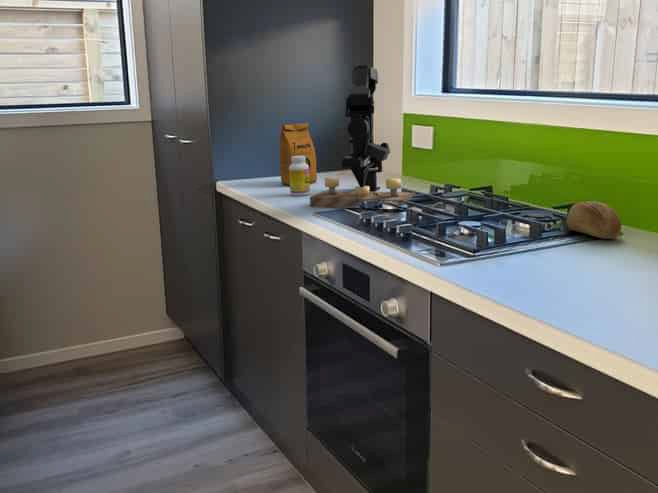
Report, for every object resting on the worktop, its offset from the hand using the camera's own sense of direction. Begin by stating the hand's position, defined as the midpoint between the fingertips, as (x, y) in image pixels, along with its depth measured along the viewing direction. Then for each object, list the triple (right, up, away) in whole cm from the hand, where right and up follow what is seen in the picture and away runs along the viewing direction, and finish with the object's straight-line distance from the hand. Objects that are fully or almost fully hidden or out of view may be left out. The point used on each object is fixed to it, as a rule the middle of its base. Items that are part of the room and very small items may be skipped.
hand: (362, 187), depth 210 cm
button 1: (-9, -2, +4) cm, 10 cm away
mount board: (0, -5, +1) cm, 5 cm away
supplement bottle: (-20, -1, +23) cm, 30 cm away
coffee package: (-21, +5, +44) cm, 49 cm away
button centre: (0, -5, +1) cm, 5 cm away
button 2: (+9, -3, -3) cm, 10 cm away
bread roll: (+52, -16, -46) cm, 71 cm away
